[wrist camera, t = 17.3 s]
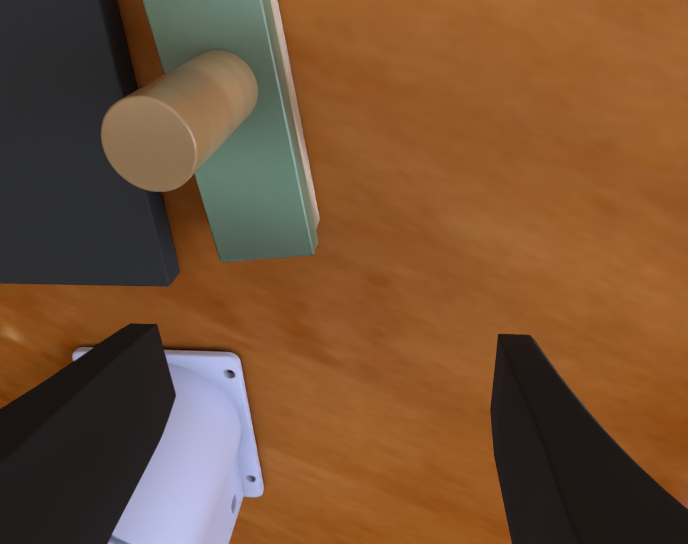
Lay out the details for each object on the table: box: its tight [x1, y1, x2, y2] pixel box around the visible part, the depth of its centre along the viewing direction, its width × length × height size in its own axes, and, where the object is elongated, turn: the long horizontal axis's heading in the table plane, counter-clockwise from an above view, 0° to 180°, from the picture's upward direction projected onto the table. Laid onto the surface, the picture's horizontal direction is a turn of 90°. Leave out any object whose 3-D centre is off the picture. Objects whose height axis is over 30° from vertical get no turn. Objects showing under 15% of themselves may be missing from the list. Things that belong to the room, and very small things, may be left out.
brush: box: [101, 0, 320, 262], centre depth 16 cm, size 12×4×8 cm, turn 9°
